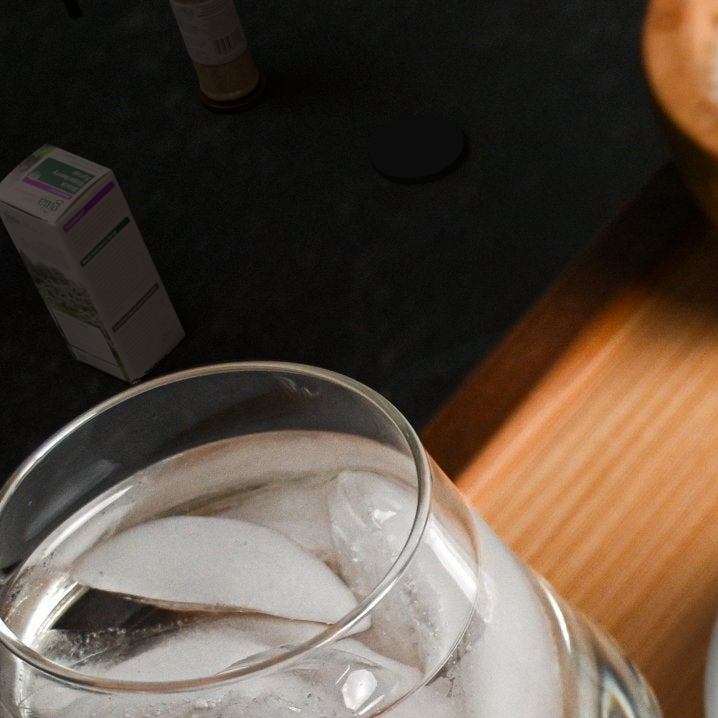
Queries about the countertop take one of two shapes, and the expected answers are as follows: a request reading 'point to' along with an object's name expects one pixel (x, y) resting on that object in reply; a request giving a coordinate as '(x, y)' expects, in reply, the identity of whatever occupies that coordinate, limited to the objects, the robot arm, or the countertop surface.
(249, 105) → the back coaster
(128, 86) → the countertop surface
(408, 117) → the side coaster
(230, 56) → the sprinkles bottle
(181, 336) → the syrup box
